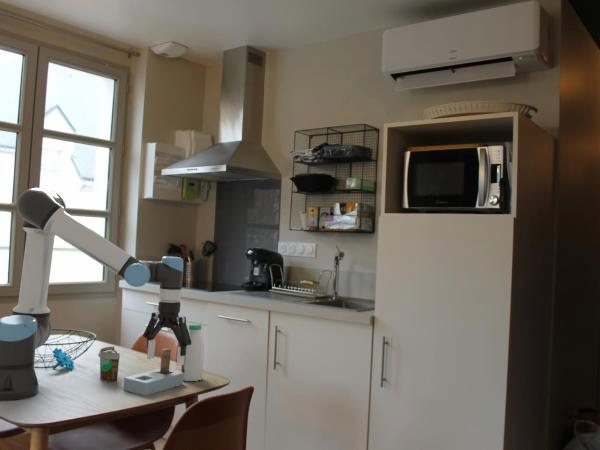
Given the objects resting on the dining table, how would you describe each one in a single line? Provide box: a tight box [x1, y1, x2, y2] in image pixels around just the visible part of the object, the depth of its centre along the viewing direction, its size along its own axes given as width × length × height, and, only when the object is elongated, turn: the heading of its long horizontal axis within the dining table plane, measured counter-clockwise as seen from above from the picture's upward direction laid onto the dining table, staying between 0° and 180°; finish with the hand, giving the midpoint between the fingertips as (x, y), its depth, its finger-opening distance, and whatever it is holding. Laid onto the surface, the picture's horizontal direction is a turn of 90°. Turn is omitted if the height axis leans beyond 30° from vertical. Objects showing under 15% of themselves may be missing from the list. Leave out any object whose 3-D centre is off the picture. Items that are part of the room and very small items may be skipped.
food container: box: [97, 346, 120, 382], centre depth 196 cm, size 12×6×10 cm, turn 27°
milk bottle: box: [180, 323, 205, 382], centre depth 202 cm, size 8×8×20 cm
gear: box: [52, 347, 76, 371], centre depth 205 cm, size 11×6×10 cm
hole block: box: [122, 368, 184, 396], centre depth 189 cm, size 18×10×4 cm, turn 151°
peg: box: [159, 348, 172, 375], centre depth 193 cm, size 3×3×12 cm
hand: (165, 361), depth 193 cm, fingers open, 13 cm apart
